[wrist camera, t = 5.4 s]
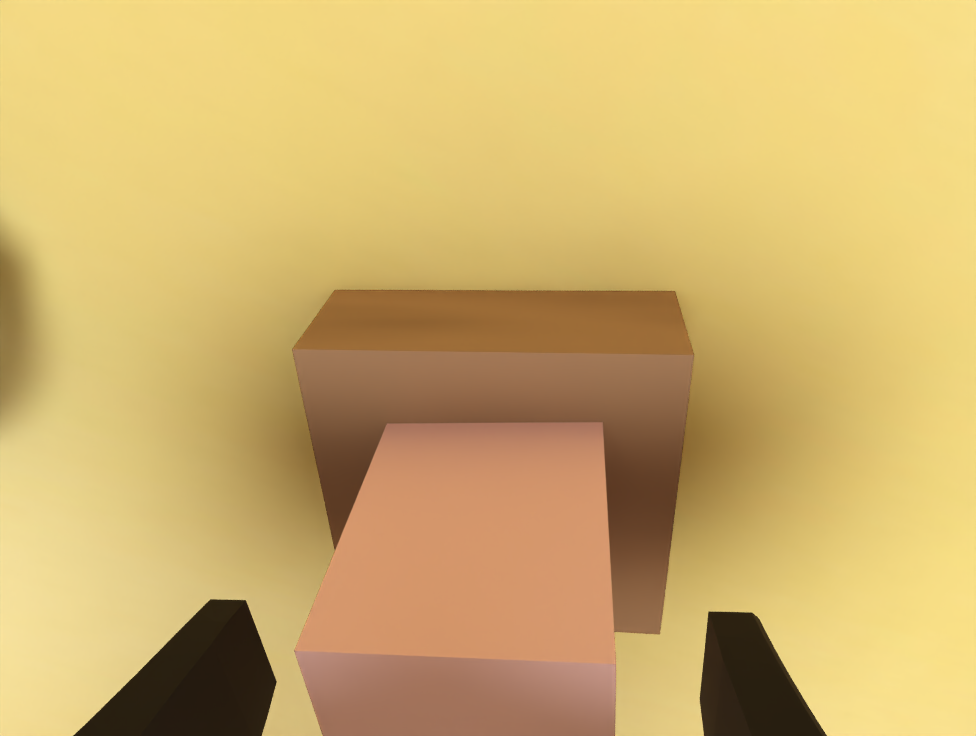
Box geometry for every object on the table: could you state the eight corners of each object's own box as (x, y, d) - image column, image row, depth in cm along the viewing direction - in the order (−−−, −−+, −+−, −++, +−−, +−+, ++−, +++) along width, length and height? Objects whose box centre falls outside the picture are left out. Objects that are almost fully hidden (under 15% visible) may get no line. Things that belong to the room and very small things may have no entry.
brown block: (647, 536, 18) (659, 634, 15) (380, 524, 19) (348, 615, 16) (672, 282, 14) (694, 354, 12) (340, 281, 15) (292, 349, 12)
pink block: (602, 580, 14) (613, 841, 10) (415, 575, 15) (351, 820, 11) (602, 421, 12) (616, 663, 8) (386, 423, 13) (293, 650, 9)
